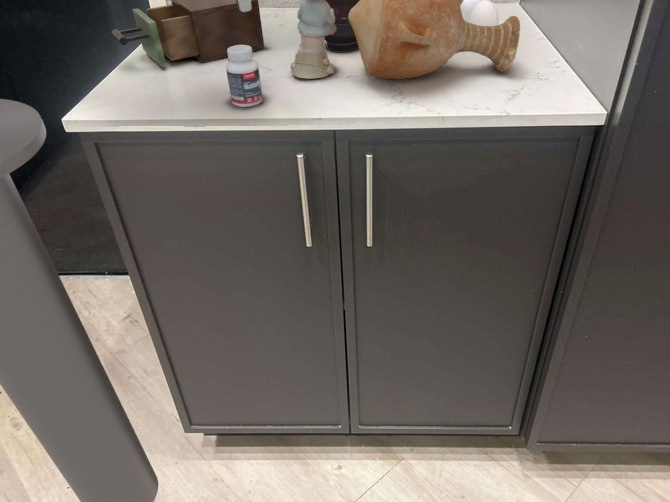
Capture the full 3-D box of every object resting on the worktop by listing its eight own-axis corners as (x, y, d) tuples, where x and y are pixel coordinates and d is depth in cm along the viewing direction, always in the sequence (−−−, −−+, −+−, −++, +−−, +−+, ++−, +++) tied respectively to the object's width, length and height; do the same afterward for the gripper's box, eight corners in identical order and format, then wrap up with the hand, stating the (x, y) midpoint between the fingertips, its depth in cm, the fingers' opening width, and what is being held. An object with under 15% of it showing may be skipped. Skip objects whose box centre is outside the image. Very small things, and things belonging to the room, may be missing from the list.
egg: (462, 36, 122) (465, -2, 117) (486, 32, 123) (490, -6, 119) (476, 45, 117) (480, 5, 112) (502, 41, 119) (506, 2, 114)
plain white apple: (476, 28, 126) (480, -12, 121) (446, 24, 128) (448, -15, 123) (485, 19, 131) (489, -19, 126) (456, 16, 133) (459, -22, 128)
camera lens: (324, 54, 115) (318, -28, 105) (323, 41, 121) (317, -38, 111) (364, 52, 115) (362, -30, 106) (360, 39, 122) (358, -39, 112)
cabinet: (202, 63, 113) (191, 11, 106) (181, 45, 121) (170, -4, 115) (264, 49, 118) (258, -1, 112) (240, 33, 126) (233, -14, 120)
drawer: (131, 72, 107) (118, 29, 102) (115, 55, 114) (103, 14, 109) (221, 52, 114) (214, 11, 109) (201, 38, 122) (193, -2, 117)
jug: (341, -11, 108) (491, 0, 113) (341, 91, 109) (491, 97, 114) (356, -69, 88) (538, -53, 93) (357, 55, 89) (536, 65, 94)
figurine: (332, 82, 104) (325, -41, 91) (287, 80, 105) (273, -42, 92) (341, 64, 110) (335, -53, 98) (299, 63, 111) (287, -53, 99)
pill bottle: (249, 110, 95) (240, 56, 89) (225, 104, 97) (215, 51, 92) (269, 99, 99) (262, 46, 93) (246, 93, 101) (237, 41, 95)
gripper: (168, -109, 84) (189, -8, 93) (219, -94, 71) (239, 23, 80) (208, -113, 87) (226, -14, 96) (265, -99, 74) (279, 14, 83)
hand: (232, 3), depth 88 cm, fingers open, 8 cm apart
